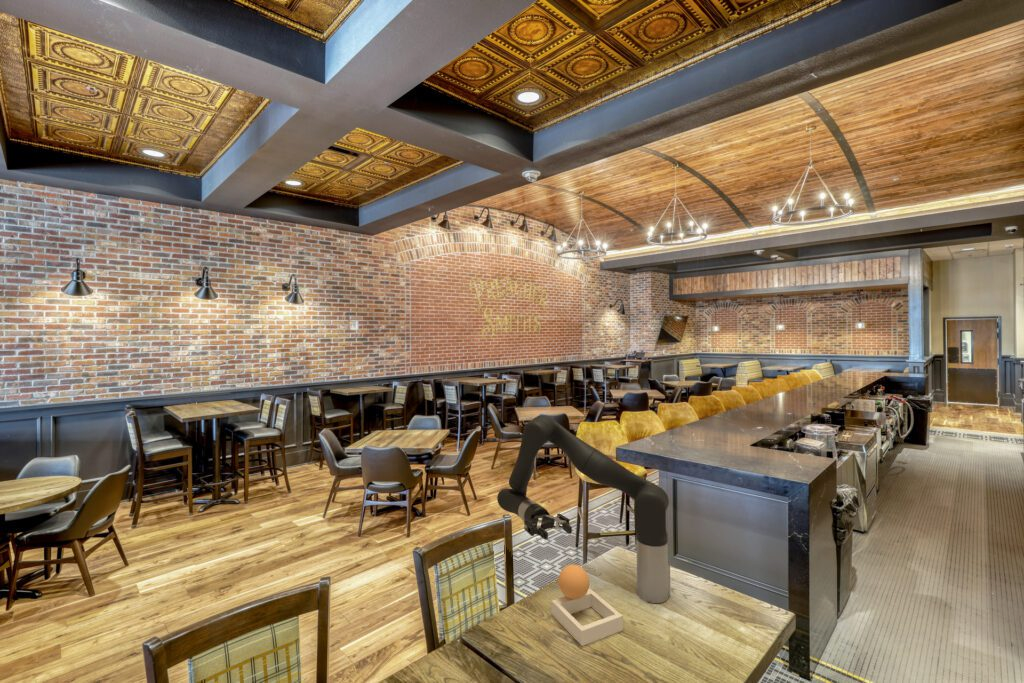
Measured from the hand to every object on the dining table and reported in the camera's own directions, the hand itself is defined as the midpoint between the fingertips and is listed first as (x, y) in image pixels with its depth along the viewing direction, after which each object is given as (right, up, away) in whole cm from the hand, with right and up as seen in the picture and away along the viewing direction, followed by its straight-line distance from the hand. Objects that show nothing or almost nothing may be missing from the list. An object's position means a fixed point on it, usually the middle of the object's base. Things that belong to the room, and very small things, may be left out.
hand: (559, 533), depth 138 cm
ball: (+4, -11, -7) cm, 14 cm away
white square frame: (+6, -20, -12) cm, 24 cm away
